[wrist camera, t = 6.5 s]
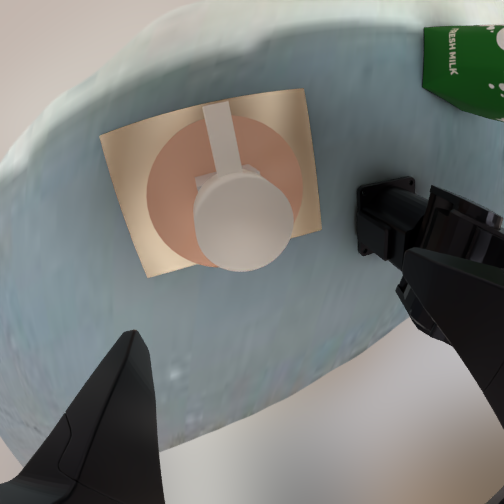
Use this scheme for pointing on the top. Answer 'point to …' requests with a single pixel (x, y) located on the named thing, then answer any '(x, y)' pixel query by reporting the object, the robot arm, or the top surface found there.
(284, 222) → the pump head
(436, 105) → the top surface
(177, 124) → the birch board
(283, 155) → the soap jar
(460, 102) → the milk carton
